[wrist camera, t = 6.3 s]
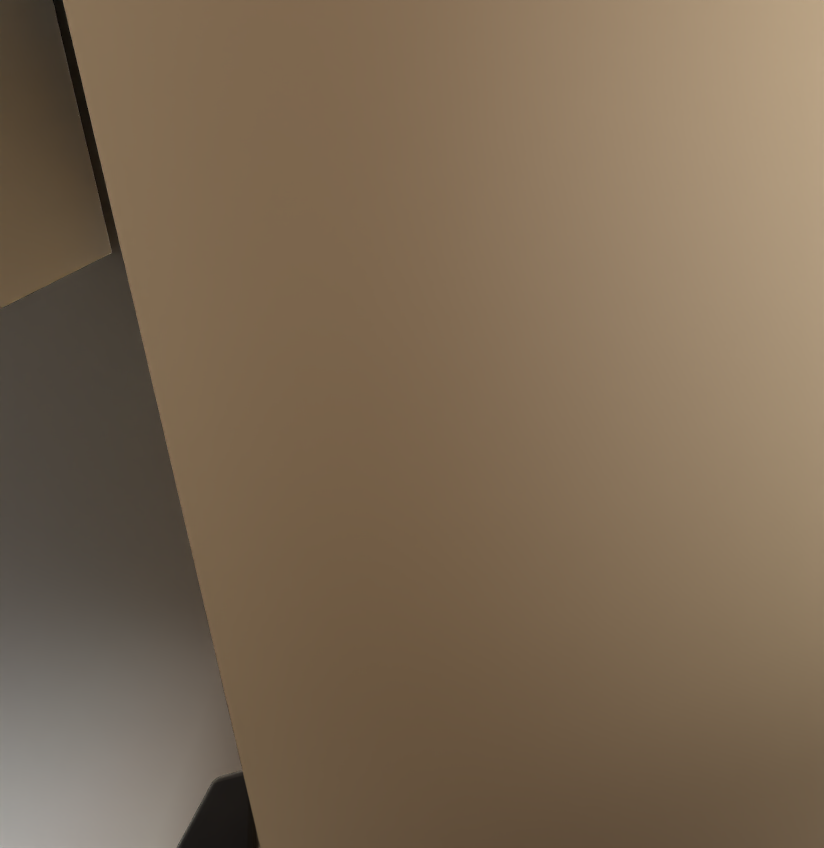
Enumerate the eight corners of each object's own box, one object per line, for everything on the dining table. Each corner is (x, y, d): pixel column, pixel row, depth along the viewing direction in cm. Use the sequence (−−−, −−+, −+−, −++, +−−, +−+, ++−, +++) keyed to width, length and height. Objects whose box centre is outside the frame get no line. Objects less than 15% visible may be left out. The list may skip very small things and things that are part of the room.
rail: (562, -99, 8) (1248, -698, 2) (605, 976, 13) (862, 1512, 7) (136, -76, 7) (-141, -881, 2) (362, 1058, 12) (463, 1720, 7)
